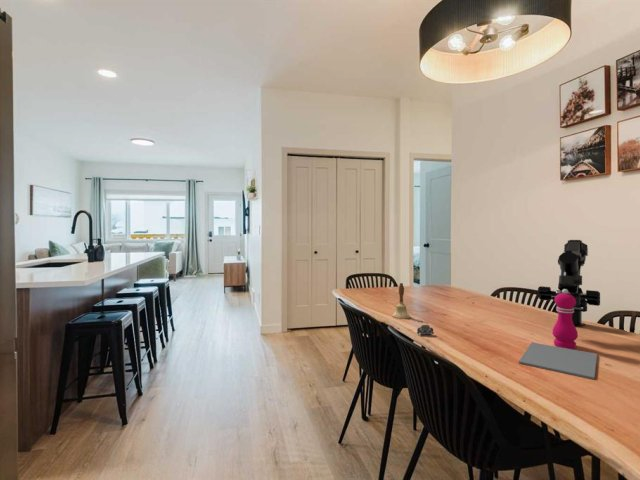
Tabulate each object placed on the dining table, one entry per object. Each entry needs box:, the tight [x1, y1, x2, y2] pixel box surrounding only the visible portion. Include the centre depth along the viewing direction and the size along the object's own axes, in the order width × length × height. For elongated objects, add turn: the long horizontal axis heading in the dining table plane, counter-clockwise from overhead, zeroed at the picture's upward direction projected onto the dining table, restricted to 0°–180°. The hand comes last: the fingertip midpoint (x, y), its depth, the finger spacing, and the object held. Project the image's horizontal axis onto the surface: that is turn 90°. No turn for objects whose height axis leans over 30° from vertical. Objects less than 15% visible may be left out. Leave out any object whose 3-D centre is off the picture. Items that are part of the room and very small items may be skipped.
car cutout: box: [416, 324, 435, 336], centre depth 133 cm, size 15×7×4 cm, turn 87°
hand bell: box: [392, 282, 411, 319], centre depth 161 cm, size 8×8×16 cm
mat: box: [518, 341, 598, 380], centre depth 107 cm, size 22×18×1 cm
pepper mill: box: [551, 289, 579, 350], centre depth 118 cm, size 7×7×20 cm
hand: (566, 314), depth 123 cm, fingers closed
